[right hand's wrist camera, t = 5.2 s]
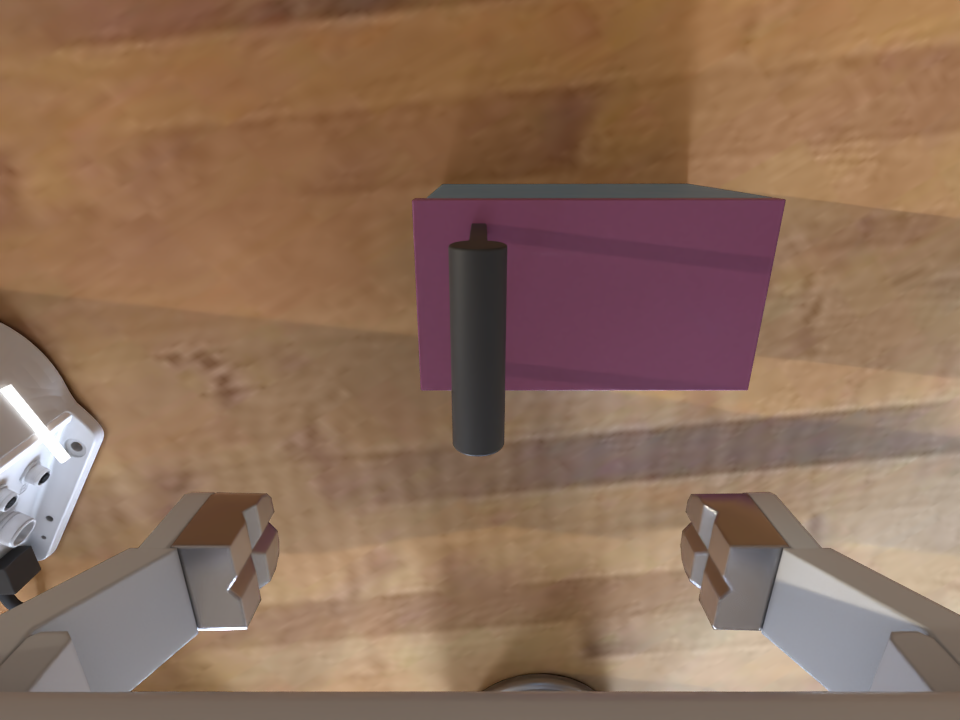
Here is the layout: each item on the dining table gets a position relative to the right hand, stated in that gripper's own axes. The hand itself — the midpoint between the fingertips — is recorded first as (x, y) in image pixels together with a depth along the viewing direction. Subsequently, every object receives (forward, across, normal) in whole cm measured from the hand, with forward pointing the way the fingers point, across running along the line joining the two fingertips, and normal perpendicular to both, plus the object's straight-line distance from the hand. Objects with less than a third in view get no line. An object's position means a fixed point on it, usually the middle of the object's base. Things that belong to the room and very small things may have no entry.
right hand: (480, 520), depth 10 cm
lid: (+17, -5, 0) cm, 18 cm away
